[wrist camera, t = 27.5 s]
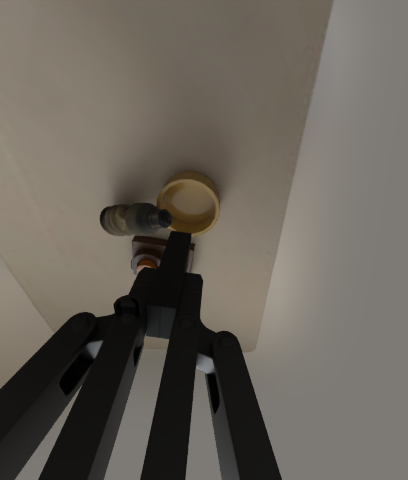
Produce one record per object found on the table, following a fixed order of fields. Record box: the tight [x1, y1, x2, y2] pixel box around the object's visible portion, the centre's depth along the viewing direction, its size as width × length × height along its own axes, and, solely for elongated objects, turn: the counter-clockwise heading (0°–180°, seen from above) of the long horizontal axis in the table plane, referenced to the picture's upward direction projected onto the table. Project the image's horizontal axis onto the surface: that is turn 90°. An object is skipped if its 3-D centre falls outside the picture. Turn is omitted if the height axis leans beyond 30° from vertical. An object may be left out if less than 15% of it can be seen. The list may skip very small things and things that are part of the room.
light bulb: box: [100, 203, 173, 236], centre depth 35 cm, size 6×6×15 cm
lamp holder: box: [157, 171, 220, 236], centre depth 37 cm, size 10×10×4 cm
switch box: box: [131, 235, 195, 275], centre depth 45 cm, size 12×9×4 cm
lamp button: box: [136, 259, 157, 274], centre depth 42 cm, size 4×4×2 cm
